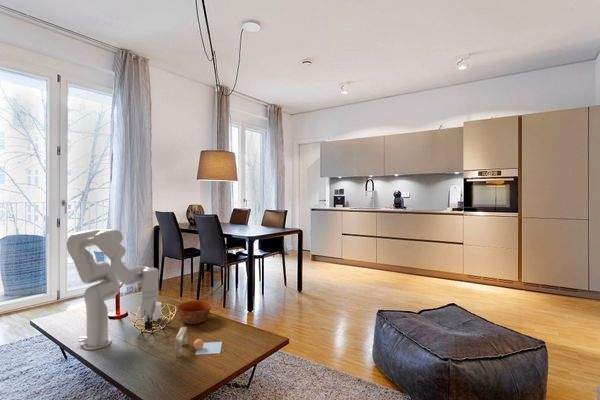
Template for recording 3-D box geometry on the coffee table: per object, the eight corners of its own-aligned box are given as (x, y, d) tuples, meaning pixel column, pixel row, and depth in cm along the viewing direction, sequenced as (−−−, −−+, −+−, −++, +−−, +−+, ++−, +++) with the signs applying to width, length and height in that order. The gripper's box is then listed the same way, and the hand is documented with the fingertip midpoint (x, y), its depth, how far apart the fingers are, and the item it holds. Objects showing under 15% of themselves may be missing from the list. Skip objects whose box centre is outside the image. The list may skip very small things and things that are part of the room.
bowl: (201, 312, 217) (202, 297, 217) (218, 321, 202) (218, 306, 202) (170, 320, 202) (170, 304, 202) (186, 331, 187) (186, 314, 187)
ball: (203, 342, 165) (201, 352, 165) (204, 337, 170) (203, 347, 170) (193, 341, 165) (191, 351, 165) (195, 336, 169) (193, 346, 170)
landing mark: (195, 354, 162) (195, 354, 162) (199, 343, 174) (199, 343, 174) (220, 353, 164) (220, 352, 164) (222, 342, 176) (222, 341, 176)
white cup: (164, 318, 205) (164, 303, 205) (153, 323, 198) (153, 307, 198) (155, 316, 209) (155, 301, 208) (144, 320, 201) (144, 304, 201)
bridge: (174, 357, 159) (174, 339, 159) (180, 343, 173) (180, 327, 173) (181, 356, 160) (181, 339, 160) (186, 343, 174) (186, 327, 173)
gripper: (146, 288, 170) (145, 322, 171) (136, 298, 155) (135, 336, 156) (161, 288, 171) (160, 322, 172) (153, 298, 156) (151, 335, 157)
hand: (148, 329), depth 164 cm, fingers closed
